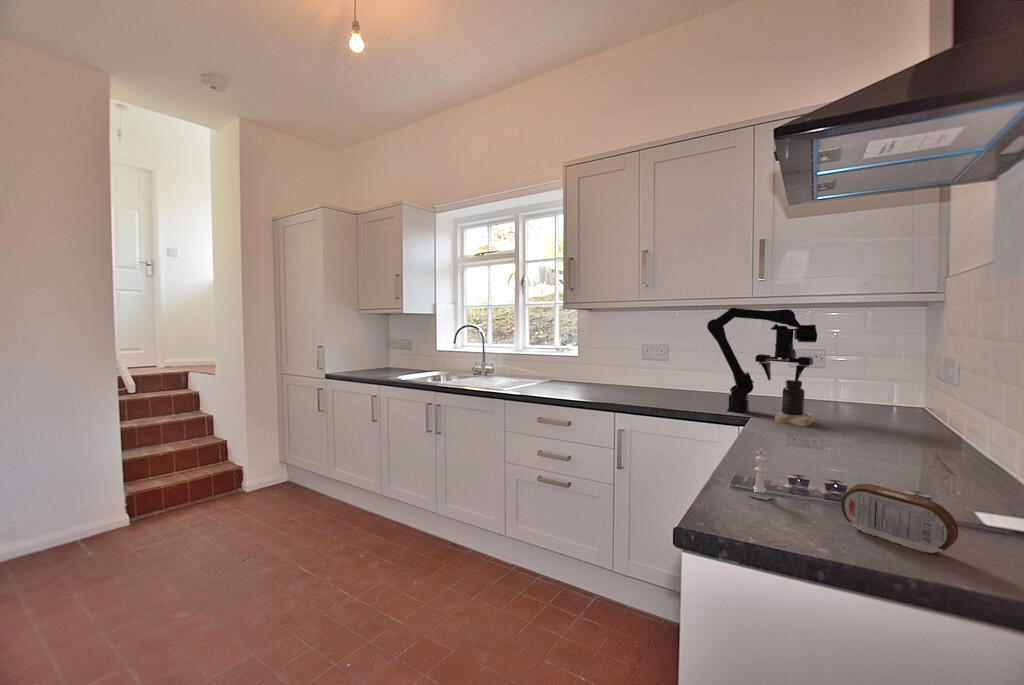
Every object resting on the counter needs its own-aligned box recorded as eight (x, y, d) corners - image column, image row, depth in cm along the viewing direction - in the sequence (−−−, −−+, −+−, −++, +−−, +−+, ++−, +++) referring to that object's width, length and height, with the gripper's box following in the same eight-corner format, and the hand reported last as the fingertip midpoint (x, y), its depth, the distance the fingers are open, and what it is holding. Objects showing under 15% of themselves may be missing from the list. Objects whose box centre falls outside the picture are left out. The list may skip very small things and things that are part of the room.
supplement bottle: (807, 416, 161) (808, 382, 160) (786, 415, 162) (787, 381, 162) (798, 412, 168) (800, 379, 167) (778, 411, 169) (779, 379, 168)
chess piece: (746, 489, 99) (748, 444, 98) (772, 494, 96) (774, 447, 96) (745, 497, 94) (747, 450, 94) (773, 502, 92) (775, 453, 92)
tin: (956, 558, 71) (960, 505, 71) (951, 564, 69) (955, 510, 69) (844, 522, 83) (846, 477, 83) (837, 526, 82) (839, 480, 81)
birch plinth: (774, 421, 166) (775, 413, 166) (782, 417, 173) (782, 409, 173) (806, 426, 159) (807, 417, 159) (813, 422, 166) (813, 413, 166)
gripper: (817, 342, 176) (815, 382, 177) (764, 340, 189) (762, 377, 190) (810, 343, 168) (808, 385, 169) (755, 340, 181) (754, 379, 182)
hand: (782, 381), depth 178 cm, fingers open, 9 cm apart
